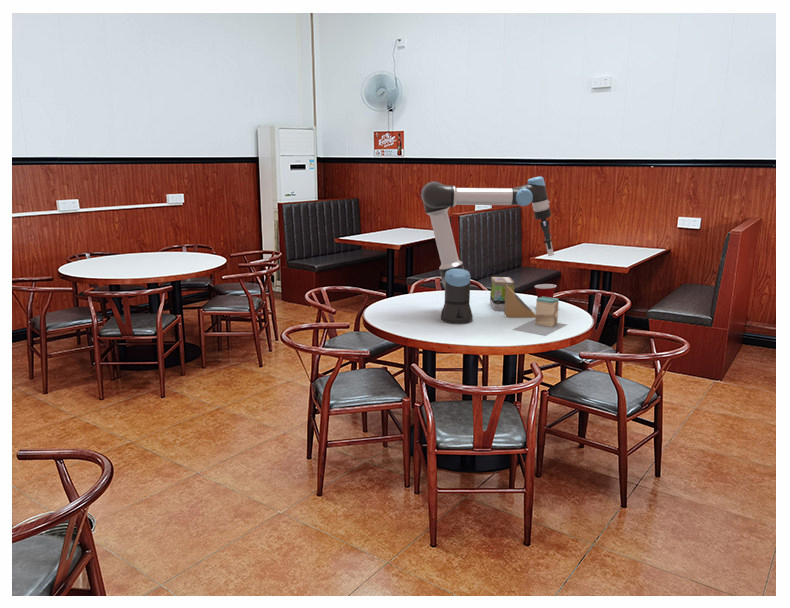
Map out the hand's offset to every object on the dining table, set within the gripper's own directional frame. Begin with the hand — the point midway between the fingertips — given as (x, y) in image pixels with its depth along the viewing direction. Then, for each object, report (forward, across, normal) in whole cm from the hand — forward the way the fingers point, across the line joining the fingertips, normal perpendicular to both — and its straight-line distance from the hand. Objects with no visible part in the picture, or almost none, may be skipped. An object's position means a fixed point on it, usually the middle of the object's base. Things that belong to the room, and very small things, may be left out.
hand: (550, 252), depth 299 cm
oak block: (+27, -25, +8) cm, 38 cm away
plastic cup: (+30, +8, +9) cm, 32 cm away
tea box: (+24, +6, +30) cm, 39 cm away
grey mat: (+26, -30, +11) cm, 42 cm away
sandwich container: (+26, -10, +20) cm, 34 cm away
